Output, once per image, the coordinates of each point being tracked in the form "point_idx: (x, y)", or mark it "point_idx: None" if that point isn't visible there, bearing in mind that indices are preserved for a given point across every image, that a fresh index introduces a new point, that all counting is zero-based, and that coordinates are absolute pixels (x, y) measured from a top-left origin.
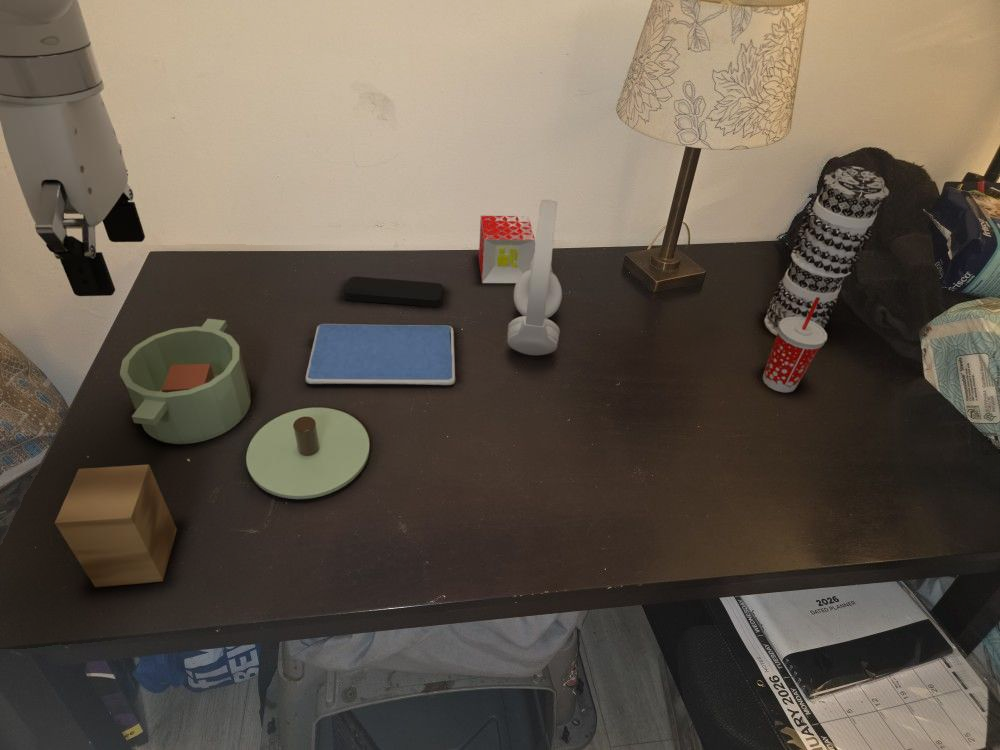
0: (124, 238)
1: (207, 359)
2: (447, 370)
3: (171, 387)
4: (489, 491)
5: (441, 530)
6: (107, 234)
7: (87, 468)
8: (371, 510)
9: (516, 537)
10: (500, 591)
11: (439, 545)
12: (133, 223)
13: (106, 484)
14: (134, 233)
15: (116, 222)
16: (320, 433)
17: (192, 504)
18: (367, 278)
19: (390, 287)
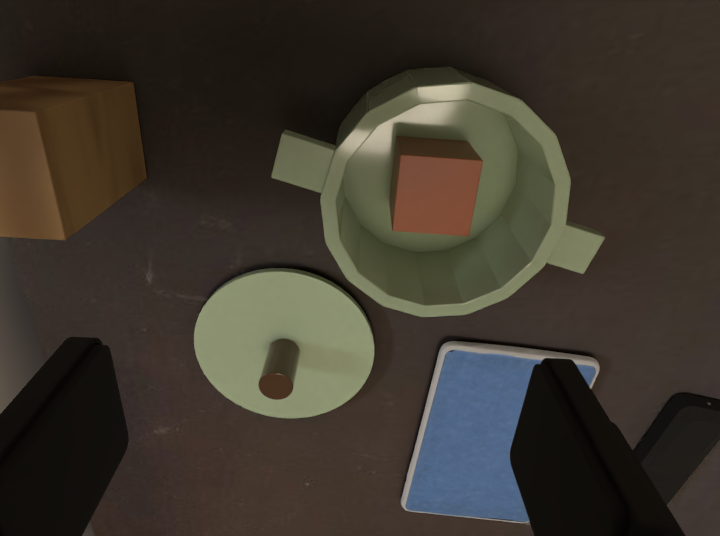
0: (524, 421)
1: (521, 205)
2: (425, 507)
3: (405, 173)
4: (214, 507)
5: (158, 462)
6: (556, 378)
7: (38, 130)
8: (186, 403)
9: (151, 517)
10: None
11: (137, 458)
12: (536, 526)
13: (4, 176)
14: (524, 473)
15: (556, 479)
16: (314, 364)
17: (196, 193)
18: (710, 442)
19: (667, 468)
